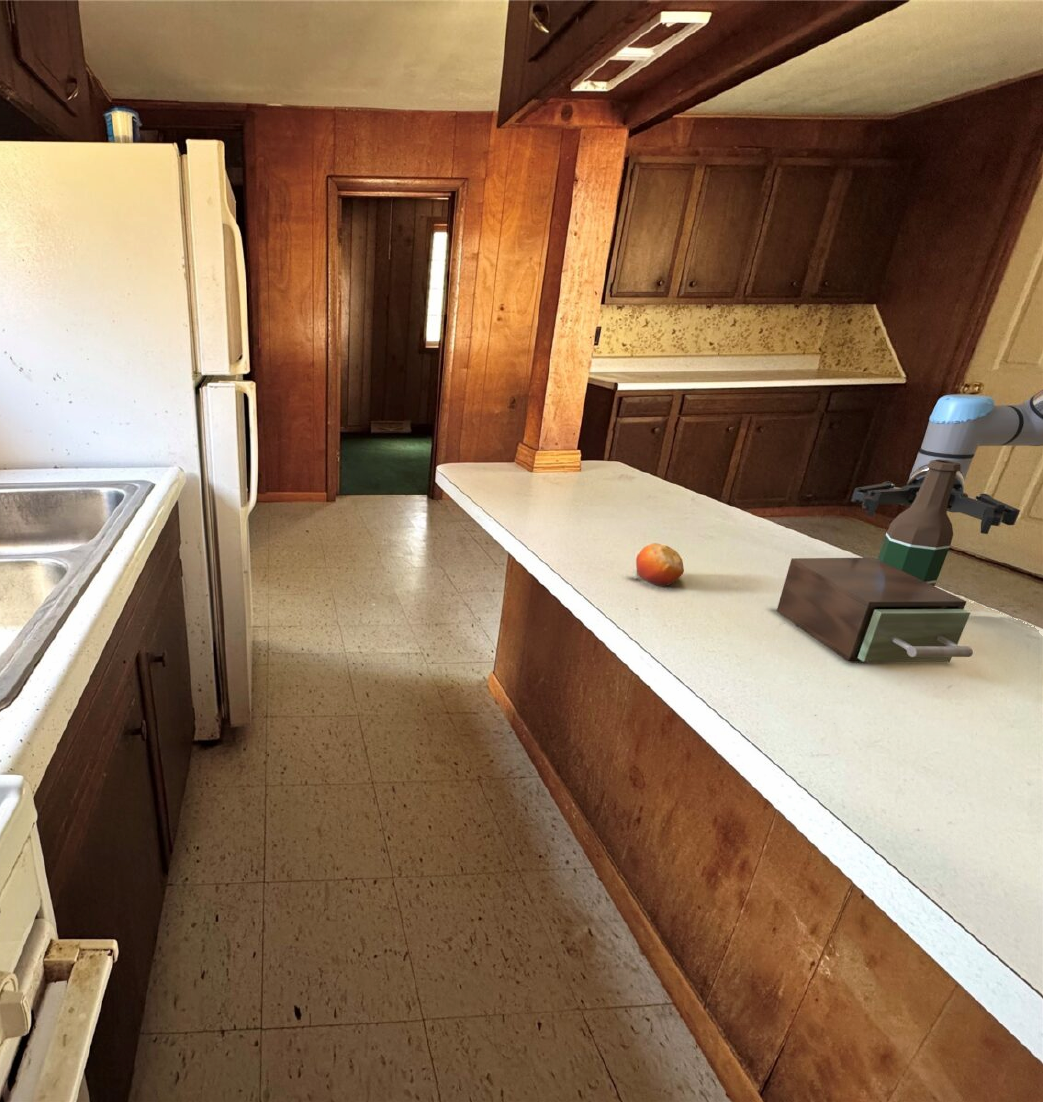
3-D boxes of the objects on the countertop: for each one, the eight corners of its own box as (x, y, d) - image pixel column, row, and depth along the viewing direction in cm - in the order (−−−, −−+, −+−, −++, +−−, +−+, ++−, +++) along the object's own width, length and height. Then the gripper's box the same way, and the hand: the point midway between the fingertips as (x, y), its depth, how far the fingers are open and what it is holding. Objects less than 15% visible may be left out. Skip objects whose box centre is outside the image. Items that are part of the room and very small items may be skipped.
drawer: (979, 679, 80) (1002, 628, 77) (888, 679, 81) (908, 628, 78) (866, 613, 97) (882, 569, 94) (792, 613, 98) (805, 570, 95)
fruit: (632, 559, 119) (661, 531, 114) (666, 588, 116) (698, 560, 111) (616, 572, 114) (646, 543, 109) (651, 602, 111) (684, 574, 106)
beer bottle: (885, 608, 101) (936, 467, 92) (854, 588, 108) (899, 455, 99) (939, 610, 99) (996, 467, 90) (905, 589, 106) (954, 455, 97)
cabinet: (941, 661, 86) (967, 601, 82) (848, 661, 87) (869, 602, 83) (855, 610, 100) (873, 557, 97) (776, 611, 101) (791, 558, 97)
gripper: (1026, 521, 105) (1032, 556, 92) (841, 495, 122) (823, 522, 109) (1044, 479, 103) (1053, 509, 89) (852, 458, 119) (835, 481, 106)
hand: (926, 516), depth 99 cm, fingers open, 13 cm apart
